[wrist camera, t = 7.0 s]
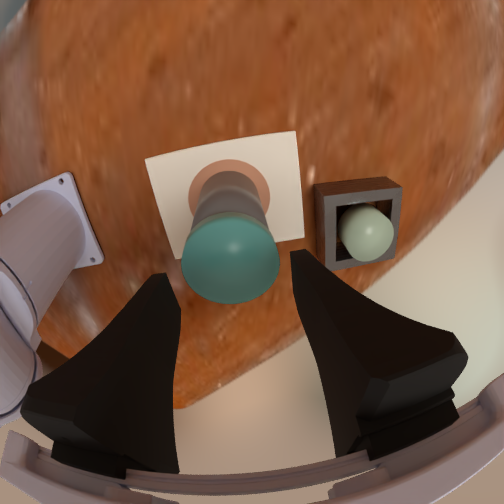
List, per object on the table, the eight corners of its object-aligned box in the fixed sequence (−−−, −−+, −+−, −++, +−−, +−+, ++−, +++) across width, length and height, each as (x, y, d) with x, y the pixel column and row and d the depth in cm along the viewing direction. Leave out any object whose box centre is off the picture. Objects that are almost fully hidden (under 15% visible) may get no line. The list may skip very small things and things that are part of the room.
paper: (175, 257, 21) (175, 259, 21) (146, 158, 17) (144, 159, 16) (303, 235, 21) (304, 237, 21) (294, 130, 17) (295, 131, 16)
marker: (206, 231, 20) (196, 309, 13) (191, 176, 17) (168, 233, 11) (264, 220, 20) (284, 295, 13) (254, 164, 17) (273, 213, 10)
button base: (316, 254, 22) (325, 272, 20) (313, 184, 19) (324, 196, 17) (381, 243, 22) (394, 258, 20) (386, 176, 19) (402, 187, 17)
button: (337, 250, 20) (346, 265, 18) (337, 206, 18) (348, 218, 16) (378, 242, 20) (390, 256, 18) (382, 200, 18) (396, 211, 16)
